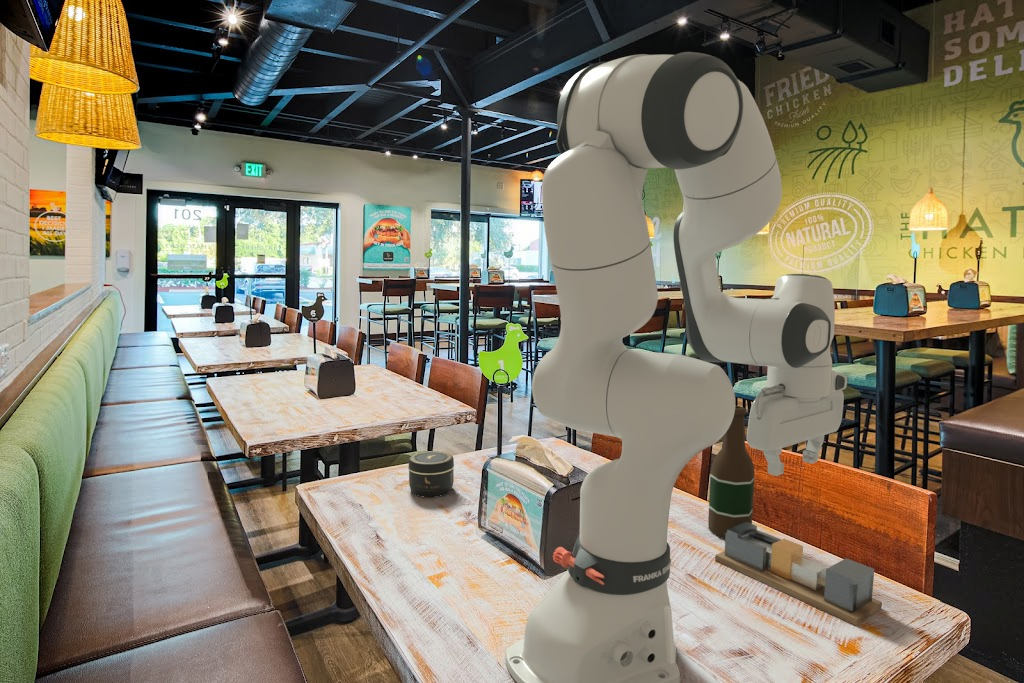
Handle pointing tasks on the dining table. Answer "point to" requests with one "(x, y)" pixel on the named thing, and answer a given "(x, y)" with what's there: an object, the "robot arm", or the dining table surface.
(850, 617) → the board
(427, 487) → the jar
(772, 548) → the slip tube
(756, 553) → the grey u-shaped bracket
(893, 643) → the dining table surface
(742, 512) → the beer bottle
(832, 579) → the socket
